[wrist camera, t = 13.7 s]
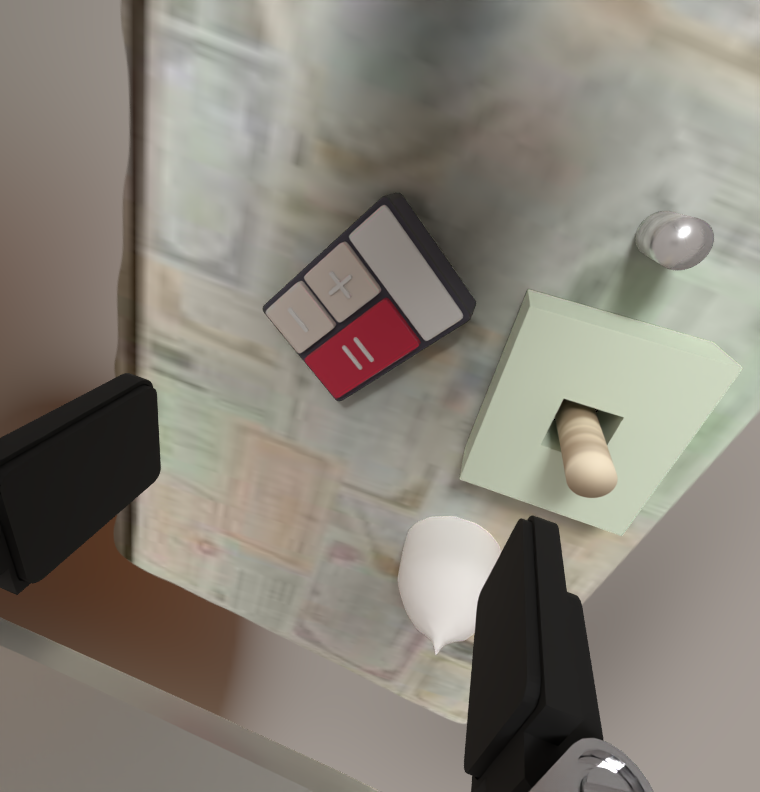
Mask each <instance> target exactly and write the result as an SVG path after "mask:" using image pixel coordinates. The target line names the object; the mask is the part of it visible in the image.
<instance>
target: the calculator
mask: <svg viewBox="0 0 760 792" xmlns="http://www.w3.org/2000/svg"><path fill="white" fill-rule="evenodd" d="M475 306H476V301H475V300H474V298H473V297H472V295H471V294H470V292H469V291H468V289H467V288H466V287H465V285H464V284H463V282H462V281H461V279H460V278H459V276H458V275H457V274H456V272H455V271H454V269H453V268H452V266H451V265H450V263H449V262H448V261H447V259H446V258H445V256H444V255H443V253H442V252H441V250H440V249H439V248H438V246H437V245H436V243H435V242H434V240H433V239H432V237H431V236H430V234H429V233H428V232H427V230H426V229H425V227H424V226H423V224H422V223H421V221H420V220H419V219H418V217H417V216H416V214H415V213H414V211H413V210H412V208H411V207H410V206H409V204H408V203H407V201H406V200H405V198H404V197H403V196H402V194H400V193H393V194H390V195H387V196H384V197H382V198H381V199H380V200H378V201H377V202H376V203H375V204H374V205H373V206H372V207H371V208H370V209H369V210H368V211H366V212H365V213H364V214H363V215H362V216H361V217H360V218H359V219H358V220H357V221H356V222H354V223H353V224H352V225H351V226H350V227H349V228H348V229H347V230H346V231H345V232H344V233H342V234H341V235H340V236H339V237H338V238H337V239H336V240H335V241H334V242H333V243H332V244H330V245H329V246H328V247H327V248H326V249H325V250H324V251H323V252H322V253H321V254H320V255H318V256H317V257H316V258H315V259H314V260H313V261H312V262H311V263H310V264H309V265H308V266H306V267H305V268H304V269H303V270H302V271H301V272H300V273H299V274H298V275H297V276H296V277H294V278H293V279H292V280H291V281H290V282H289V283H288V284H287V285H286V286H285V287H284V288H282V289H281V290H280V291H279V292H278V293H277V294H276V295H275V296H274V297H273V298H272V299H270V300H269V301H268V302H267V303H266V304H265V305H264V306H263V311H264V313H265V314H266V315H267V317H268V318H269V319H270V320H271V322H272V323H273V324H274V325H275V326H276V328H277V329H278V330H279V331H280V333H281V334H282V335H283V336H284V337H285V339H286V340H287V341H288V342H289V343H290V345H291V346H292V347H293V348H294V350H295V351H296V352H297V353H298V354H299V356H300V357H301V358H302V359H303V360H304V362H305V363H306V364H307V365H308V367H309V368H310V369H311V370H312V371H313V373H314V374H315V375H316V376H317V377H318V379H319V380H320V381H321V382H322V384H323V385H324V386H325V387H326V388H327V390H328V391H329V392H330V393H331V395H332V396H333V397H334V398H335V399H336V400H337V401H342V400H344V399H345V398H347V397H349V396H350V395H352V394H353V393H355V392H356V391H358V390H360V389H361V388H363V387H364V386H366V385H368V384H369V383H371V382H372V381H374V380H375V379H377V378H379V377H380V376H382V375H383V374H385V373H387V372H388V371H390V370H391V369H393V368H394V367H396V366H398V365H399V364H401V363H402V362H404V361H406V360H407V359H409V358H410V357H412V356H413V355H415V354H417V353H418V352H420V351H421V350H423V349H425V348H426V347H428V346H429V345H431V344H432V343H434V342H436V341H437V340H439V339H440V338H442V337H444V336H445V335H447V334H448V333H450V332H451V331H453V330H455V329H456V328H458V327H459V326H461V325H463V324H464V323H466V322H467V321H469V320H470V318H471V316H472V314H473V311H474V309H475Z"/></svg>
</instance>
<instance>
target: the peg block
mask: <svg viewBox="0 0 760 792" xmlns="http://www.w3.org/2000/svg"><path fill="white" fill-rule="evenodd" d="M742 369H743V367H742V366H740V365H739V364H738V363H737V362H736V361H735V360H733V359H732V358H731V357H730V356H729V355H728V354H726V353H725V352H724V351H723V350H722V349H721V348H719V347H718V346H717V345H716V344H715V343H714V342H711V341H708V340H704V339H701V338H697V337H694V336H690V335H687V334H683V333H680V332H676V331H673V330H669V329H666V328H663V327H659V326H656V325H652V324H649V323H645V322H642V321H638V320H635V319H631V318H628V317H624V316H621V315H617V314H614V313H610V312H607V311H603V310H600V309H596V308H593V307H589V306H586V305H582V304H579V303H575V302H572V301H568V300H565V299H561V298H558V297H554V296H551V295H547V294H544V293H540V292H537V291H533V290H530V289H528V290H527V293H526V295H525V298H524V300H523V303H522V305H521V308H520V310H519V313H518V315H517V318H516V320H515V323H514V325H513V328H512V330H511V333H510V335H509V338H508V340H507V343H506V345H505V348H504V350H503V353H502V355H501V358H500V360H499V363H498V366H497V368H496V371H495V373H494V376H493V378H492V381H491V383H490V386H489V388H488V391H487V393H486V396H485V398H484V401H483V403H482V406H481V408H480V411H479V413H478V416H477V418H476V421H475V423H474V426H473V428H472V431H471V434H470V436H469V439H468V441H467V444H466V446H465V449H464V455H463V461H462V467H461V473H460V478H459V479H460V480H463V481H466V482H468V483H471V484H474V485H477V486H480V487H483V488H486V489H488V490H491V491H494V492H497V493H500V494H503V495H506V496H509V497H511V498H514V499H517V500H520V501H523V502H526V503H529V504H531V505H534V506H537V507H540V508H543V509H546V510H549V511H551V512H554V513H557V514H560V515H563V516H566V517H569V518H572V519H574V520H577V521H580V522H583V523H586V524H589V525H592V526H594V527H597V528H600V529H603V530H606V531H609V532H612V533H614V534H617V535H620V536H622V535H623V534H624V533H625V531H626V530H627V529H628V527H629V526H630V524H631V523H632V522H633V520H634V519H635V517H636V516H637V515H638V513H639V512H640V511H641V509H642V508H643V506H644V505H645V504H646V502H647V501H648V499H649V498H650V497H651V495H652V494H653V493H654V491H655V490H656V488H657V487H658V486H659V484H660V483H661V481H662V480H663V479H664V477H665V476H666V475H667V473H668V472H669V470H670V469H671V468H672V466H673V465H674V463H675V462H676V461H677V459H678V458H679V457H680V455H681V454H682V452H683V451H684V450H685V448H686V447H687V445H688V444H689V443H690V441H691V440H692V439H693V437H694V436H695V434H696V433H697V432H698V430H699V429H700V427H701V426H702V425H703V423H704V422H705V421H706V419H707V418H708V416H709V415H710V414H711V412H712V411H713V409H714V408H715V407H716V405H717V404H718V403H719V401H720V400H721V398H722V397H723V396H724V394H725V393H726V391H727V390H728V389H729V387H730V386H731V385H732V383H733V382H734V380H735V379H736V378H737V376H738V375H739V373H740V372H741V371H742ZM563 399H567V400H570V401H573V402H576V403H580V404H583V405H586V406H589V407H592V408H595V409H599V410H598V412H597V413H596V415H597V417H598V420H599V423H600V426H601V429H602V432H603V435H604V438H605V441H606V444H607V447H608V450H609V453H610V456H611V458H612V461H613V464H614V467H615V470H616V473H617V477H618V481H617V485H616V487H615V488H614V489H613V490H612V491H611V492H610V493H609V494H607V495H605V496H602V497H598V498H586V497H582V496H579V495H577V494H575V493H574V492H572V491H571V490H570V488H569V487H568V485H567V482H566V477H565V471H564V465H563V459H562V453H561V447H560V442H559V436H558V430H557V424H556V421H555V420H553V419H554V417H555V415H556V413H557V411H558V409H559V407H560V405H561V403H562V401H563Z"/></svg>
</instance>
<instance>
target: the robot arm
mask: <svg viewBox="0 0 760 792" xmlns="http://www.w3.org/2000/svg"><path fill="white" fill-rule="evenodd" d="M160 470H161V464H160V444H159V425H158V406H157V392H156V390H155V389H154V388H153V385H152V383H151V382H150V381H149V380H146V379H144V378H141V377H138V376H135V375H132V374H129V373H125V374H122V375H120V376H118V377H116V378H114V379H112V380H110V381H109V382H107V383H105V384H103V385H101V386H99V387H97V388H95V389H93V390H92V391H89V392H87V393H86V394H84V395H82V396H80V397H78V398H76V399H74V400H72V401H70V402H68V403H66V404H64V405H63V406H61V407H59V408H57V409H55V410H53V411H51V412H49V413H47V414H46V415H43V416H42V417H40V418H38V419H36V420H34V421H32V422H30V423H28V424H26V425H24V426H22V427H20V428H19V429H17V430H15V431H13V432H11V433H9V434H7V435H5V436H3V437H1V438H0V588H2V589H5V590H7V591H9V592H11V593H14V594H16V595H18V594H19V593H20V592H21V591H22V590H24V589H25V588H26V587H27V586H28V585H29V584H31V583H36V582H38V581H40V580H42V579H43V578H44V577H45V576H47V575H48V574H49V573H50V572H51V571H52V570H54V569H55V568H56V567H57V566H58V565H59V564H60V563H62V562H63V561H64V560H65V559H66V558H67V557H68V556H70V555H71V554H72V553H73V552H74V551H75V550H77V549H78V548H79V547H80V546H81V545H82V544H84V543H85V542H86V541H87V540H88V539H89V538H90V537H92V536H93V535H94V534H95V533H96V532H97V531H98V530H99V529H101V528H102V527H103V526H104V525H105V524H107V523H108V522H109V521H110V520H111V519H112V518H113V517H115V516H116V515H117V514H118V513H119V512H120V511H121V510H123V509H124V508H125V507H126V506H127V505H128V504H130V503H131V502H132V501H133V500H134V499H135V498H136V497H138V496H139V495H140V494H141V493H142V492H143V491H145V490H146V489H147V488H148V487H149V486H150V485H151V484H153V483H154V482H155V481H156V479H157V478H158V476H159V474H160ZM464 770H465V772H466V773H468V774H470V775H472V788H471V792H653V789H652V787H651V785H650V783H649V782H648V780H647V779H646V777H645V776H644V775H643V773H642V772H641V771H640V769H639V768H638V767H637V765H636V764H635V763H634V762H633V761H632V760H631V759H630V758H629V757H628V756H626V754H624V753H623V752H622V751H621V750H619V749H618V748H616V747H615V746H613V745H612V744H610V743H608V742H606V741H604V740H603V735H602V728H601V722H600V715H599V709H598V703H597V696H596V690H595V684H594V678H593V671H592V665H591V659H590V652H589V647H588V640H587V634H586V628H585V621H584V615H583V608H582V604H581V601H580V599H579V597H578V596H577V595H574V594H571V593H569V592H567V589H566V581H565V574H564V566H563V558H562V550H561V543H560V535H559V528H558V525H557V524H555V523H553V522H550V521H547V520H544V519H541V518H538V517H535V516H530V517H529V518H528V520H525V519H522V518H521V519H519V521H518V522H517V524H516V526H515V528H514V530H513V531H512V533H511V535H510V537H509V539H508V541H507V543H506V545H505V546H504V548H503V550H502V552H501V554H500V556H499V558H498V560H497V561H496V563H495V565H494V567H493V569H492V571H491V573H490V575H489V577H488V578H487V580H486V582H485V584H484V586H483V588H482V590H481V592H480V595H479V598H478V602H477V610H476V623H475V635H474V647H473V659H472V671H471V683H470V695H469V708H468V720H467V733H466V744H465V756H464ZM0 792H381V791H379V790H377V789H375V788H373V787H370V786H368V785H366V784H364V783H362V782H360V781H358V780H356V779H354V778H352V777H350V776H347V775H346V774H343V773H341V772H339V771H337V770H335V769H333V768H331V767H329V766H327V765H325V764H322V763H320V762H318V761H316V760H314V759H311V758H309V757H307V756H305V755H303V754H301V753H298V752H296V751H294V750H291V749H290V748H287V747H285V746H283V745H281V744H279V743H277V742H274V741H272V740H270V739H268V738H266V737H264V736H261V735H259V734H257V733H255V732H253V731H250V730H248V729H246V728H244V727H242V726H239V725H237V724H235V723H233V722H231V721H229V720H226V719H224V718H222V717H220V716H218V715H216V714H213V713H211V712H209V711H207V710H204V709H202V708H200V707H198V706H196V705H193V704H191V703H189V702H187V701H185V700H182V699H180V698H178V697H176V696H173V695H171V694H169V693H167V692H165V691H163V690H160V689H158V688H156V687H154V686H152V685H149V684H147V683H145V682H143V681H141V680H138V679H136V678H134V677H132V676H129V675H127V674H125V673H122V672H121V671H118V670H116V669H114V668H112V667H109V666H107V665H105V664H103V663H100V662H98V661H96V660H94V659H92V658H89V657H87V656H85V655H83V654H81V653H78V652H76V651H74V650H72V649H70V648H67V647H65V646H63V645H61V644H58V643H56V642H54V641H52V640H49V639H47V638H45V637H43V636H40V635H38V634H36V633H34V632H31V631H29V630H27V629H25V628H22V627H20V626H18V625H15V624H13V623H11V622H9V621H7V620H4V619H2V618H0Z"/></svg>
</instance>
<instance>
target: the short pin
mask: <svg viewBox="0 0 760 792" xmlns="http://www.w3.org/2000/svg"><path fill="white" fill-rule="evenodd" d="M635 241H636V245H637V248H638V249H639V250H640V251H641V252H642V253H643V254H645V255H646V256H648V257H650V258H651V259H653V260H654V261H656V262H657V263H659V264H661V265H662V266H664V267H666V268H668V269H671V270H685V269H688V268H691V267H693V266H695V265H697V264H698V263H700V262H701V261H702V260H703V259H704V258H705V257H706V256H707V255H708V254H709V252H710V250H711V248H712V246H713V242H714V234H713V230H712V228H711V227H710V225H709V224H708V223H707V222H705V221H704V220H701V219H698V218H695V217H691V216H687V215H683V214H679V213H675V212H671V211H660V212H657V213H654V214H652V215H650V216H649V217H647V218H646V219H645V220H644V221H643V222H642V223H641V224H640V226H639V227H638V229H637V232H636V236H635Z"/></svg>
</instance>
